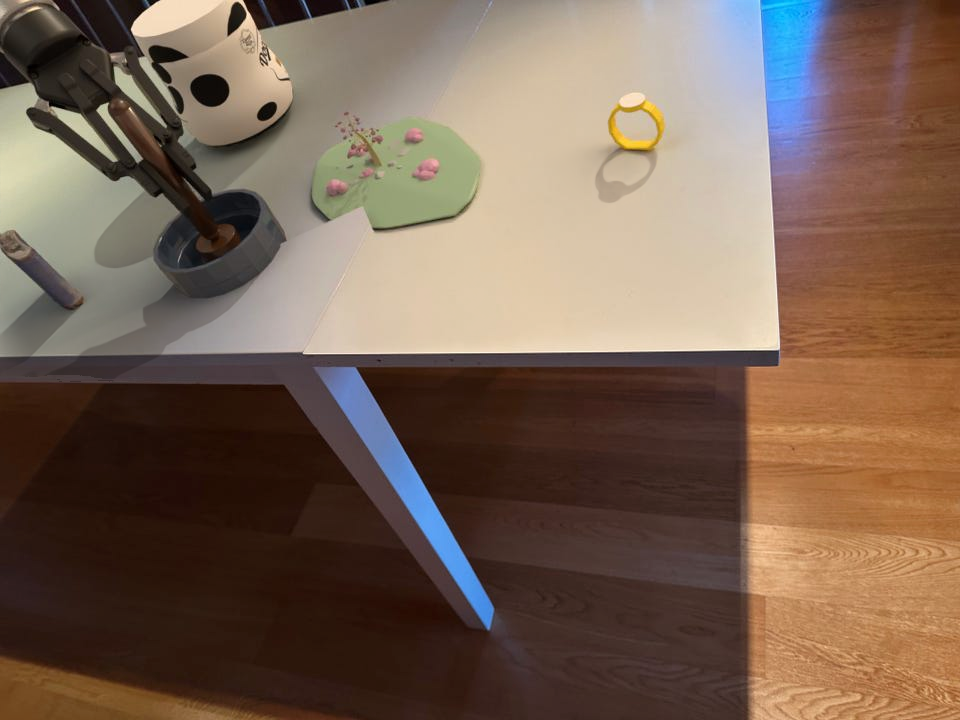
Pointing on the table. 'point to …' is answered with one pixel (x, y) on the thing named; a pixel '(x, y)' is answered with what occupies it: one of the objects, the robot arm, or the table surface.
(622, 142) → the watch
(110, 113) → the masher
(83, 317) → the table surface
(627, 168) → the table surface
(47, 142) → the table surface
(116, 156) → the robot arm
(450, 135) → the plant
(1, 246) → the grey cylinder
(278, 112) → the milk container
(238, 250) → the bowl
